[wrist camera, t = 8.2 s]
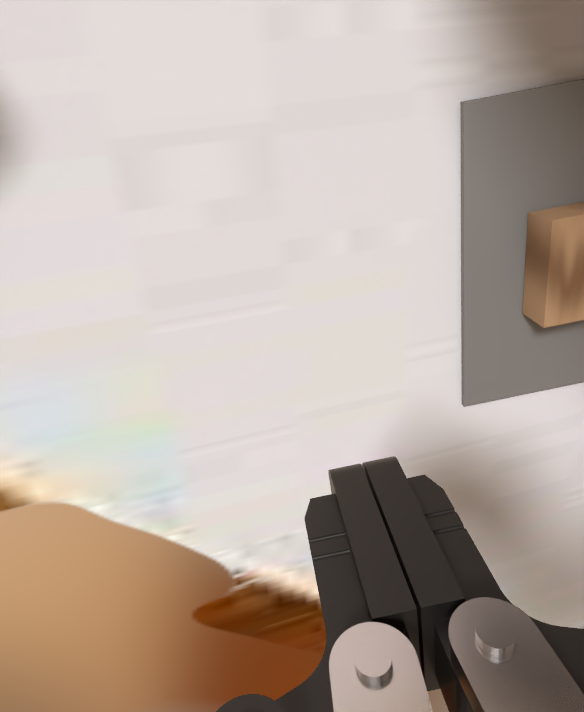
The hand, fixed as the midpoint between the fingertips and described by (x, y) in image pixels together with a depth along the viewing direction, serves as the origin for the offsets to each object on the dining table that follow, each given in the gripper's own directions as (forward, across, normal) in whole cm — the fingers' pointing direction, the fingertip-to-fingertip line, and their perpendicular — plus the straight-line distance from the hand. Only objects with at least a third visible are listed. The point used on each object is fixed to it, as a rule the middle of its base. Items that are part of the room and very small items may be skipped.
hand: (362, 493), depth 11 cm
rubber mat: (+27, -24, +6) cm, 37 cm away
